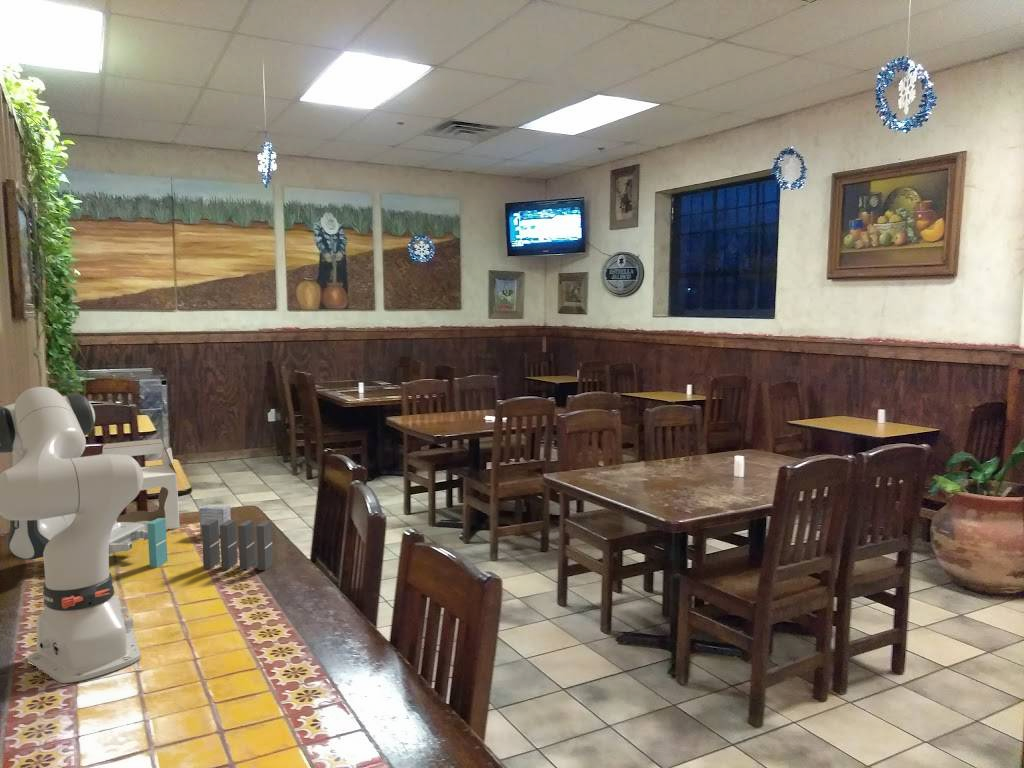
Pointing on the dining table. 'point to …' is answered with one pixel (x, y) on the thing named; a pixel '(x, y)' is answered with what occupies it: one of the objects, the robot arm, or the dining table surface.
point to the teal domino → (157, 542)
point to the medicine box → (214, 514)
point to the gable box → (152, 481)
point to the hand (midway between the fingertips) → (141, 541)
